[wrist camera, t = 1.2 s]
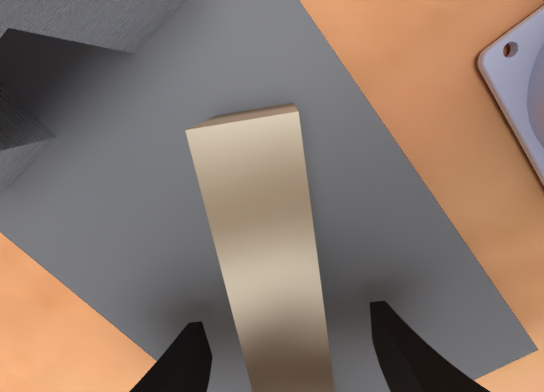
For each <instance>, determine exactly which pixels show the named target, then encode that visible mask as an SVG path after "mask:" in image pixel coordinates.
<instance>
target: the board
mask: <svg viewBox="0 0 544 392" xmlns="http://www.w3.org/2000/svg"><path fill="white" fill-rule="evenodd" d="M0 83H1V84H2V85H3V86H4V87H5V88H6V89H7V90H8V91H9V92H10V93H11V94H12V95H13V96H14V97H15V98H16V99H18V100H19V101H20V102H21V103H22V104H23V105H24V106H25V107H26V108H27V109H28V110H29V111H30V112H31V113H32V114H33V115H34V116H35V117H36V118H37V119H38V120H39V121H40V122H41V123H42V124H43V125H44V126H45V127H47V128H48V129H49V130H50V131H51V132H52V133H53V134H54V135H55V136H56V137H57V138H56V139H55V140H54V141H53V142H52V143H51V144H50V145H49V146H48V147H47V148H46V149H45V150H44V151H43V152H42V153H41V154H40V155H39V157H38V158H37V159H36V160H35V161H34V162H33V163H32V164H31V165H30V166H29V167H28V168H27V169H26V170H25V171H24V172H23V173H22V174H21V175H20V177H19V178H18V179H17V180H16V181H15V182H14V183H13V184H12V185H11V186H10V187H9V188H8V189H7V190H6V191H3V192H0V232H1V233H2V234H3V235H4V236H6V237H7V238H8V239H9V240H11V241H12V242H13V243H14V244H15V245H17V246H18V247H19V248H20V249H21V250H23V251H24V252H25V253H26V254H28V255H29V256H30V257H31V258H32V259H34V260H35V261H36V262H37V263H38V264H40V265H41V266H42V267H43V268H45V269H46V270H47V271H48V272H49V273H51V274H52V275H53V276H54V277H55V278H57V279H58V280H59V281H60V282H62V283H63V284H64V285H65V286H66V287H68V288H69V289H70V290H71V291H72V292H74V293H75V294H76V295H77V296H79V297H80V298H81V299H82V300H83V301H85V302H86V303H87V304H88V305H89V306H91V307H92V308H93V309H94V310H96V311H97V312H98V313H99V314H100V315H102V316H103V317H104V318H105V319H106V320H108V321H109V322H110V323H111V324H113V325H114V326H115V327H116V328H117V329H119V330H120V331H121V332H122V333H123V334H125V335H126V336H127V337H128V338H130V339H131V340H132V341H133V342H134V343H136V344H137V345H138V346H139V347H140V348H142V349H143V350H144V351H145V352H147V353H148V354H149V355H150V356H151V357H153V358H154V359H155V360H156V361H158V360H159V358H160V357H161V356H162V355H163V354H164V352H165V351H166V350H167V349H168V348H169V346H170V345H171V344H172V343H173V341H174V340H175V339H176V338H177V336H178V335H179V334H180V333H181V331H182V330H183V329H184V328H185V326H186V325H187V324H188V323H190V322H199V321H202V323H203V326H204V329H205V333H206V336H207V339H208V343H209V346H210V349H211V353H212V356H213V358H212V366H211V373H210V379H209V384H208V388H207V392H252V388H251V384H250V380H249V376H248V372H247V368H246V364H245V360H244V357H243V353H242V349H241V345H240V341H239V337H238V333H237V329H236V326H235V322H234V318H233V314H232V310H231V306H230V302H229V298H228V294H227V291H226V287H225V283H224V279H223V275H222V271H221V267H220V263H219V260H218V256H217V252H216V248H215V244H214V240H213V236H212V232H211V228H210V225H209V221H208V217H207V213H206V209H205V205H204V201H203V197H202V194H201V190H200V186H199V182H198V178H197V174H196V170H195V166H194V162H193V159H192V155H191V151H190V147H189V143H188V139H187V135H186V131H185V130H187V129H189V128H191V127H193V126H195V125H197V124H199V123H201V122H204V121H206V120H208V119H210V118H212V117H214V116H216V115H222V114H228V113H234V112H240V111H246V110H252V109H258V108H264V107H270V106H275V105H281V104H287V103H294V104H295V106H296V108H297V110H298V111H299V119H300V126H301V134H302V142H303V149H304V157H305V165H306V173H307V180H308V188H309V196H310V203H311V211H312V219H313V227H314V234H315V242H316V250H317V257H318V265H319V273H320V280H321V288H322V296H323V304H324V311H325V319H326V327H327V334H328V342H329V350H330V357H331V365H332V373H333V381H334V388H335V392H390V390H389V387H388V385H387V382H386V380H385V378H384V375H383V373H382V370H381V368H380V365H379V362H378V359H377V355H376V352H375V349H374V345H373V342H372V331H371V316H370V302H376V301H386V302H387V303H388V304H389V305H390V306H391V307H392V309H393V310H394V311H395V312H396V313H397V314H398V315H399V316H400V317H401V318H402V319H403V320H404V321H405V322H406V323H407V324H408V325H409V326H410V327H411V328H412V329H413V330H414V331H415V332H416V333H417V334H418V335H419V336H420V337H421V338H422V339H423V340H424V341H425V342H426V343H427V344H429V345H430V346H431V347H432V348H433V349H434V350H435V351H437V352H438V353H439V354H440V355H441V356H442V357H444V358H445V359H446V360H447V361H448V362H450V363H451V364H452V365H453V366H455V367H456V368H457V369H459V370H460V371H461V372H463V373H464V374H465V375H467V376H468V377H469V378H471V379H472V380H475V379H477V378H479V377H481V376H484V375H486V374H488V373H490V372H492V371H494V370H496V369H498V368H501V367H503V366H505V365H507V364H509V363H511V362H513V361H515V360H518V359H520V358H522V357H524V356H526V355H528V354H530V353H532V352H535V351H537V350H538V348H537V347H536V345H535V344H534V342H533V341H532V340H531V338H530V337H529V335H528V334H527V332H526V331H525V329H524V328H523V326H522V325H521V323H520V322H519V321H518V319H517V318H516V316H515V315H514V313H513V312H512V310H511V309H510V307H509V306H508V304H507V303H506V302H505V300H504V299H503V297H502V296H501V294H500V293H499V291H498V290H497V288H496V287H495V286H494V284H493V283H492V281H491V280H490V278H489V277H488V275H487V274H486V272H485V271H484V269H483V268H482V267H481V265H480V264H479V262H478V261H477V259H476V258H475V256H474V255H473V253H472V252H471V250H470V249H469V248H468V246H467V245H466V243H465V242H464V240H463V239H462V237H461V236H460V234H459V233H458V231H457V230H456V229H455V227H454V226H453V224H452V223H451V221H450V220H449V218H448V217H447V215H446V214H445V212H444V211H443V210H442V208H441V207H440V205H439V204H438V202H437V201H436V199H435V198H434V196H433V195H432V193H431V192H430V191H429V189H428V188H427V186H426V185H425V183H424V182H423V180H422V179H421V177H420V176H419V175H418V173H417V172H416V170H415V169H414V167H413V166H412V164H411V163H410V161H409V160H408V158H407V157H406V156H405V154H404V153H403V151H402V150H401V148H400V147H399V145H398V144H397V142H396V141H395V139H394V138H393V137H392V135H391V134H390V132H389V131H388V129H387V128H386V126H385V125H384V123H383V122H382V120H381V119H380V118H379V116H378V115H377V113H376V112H375V110H374V109H373V107H372V106H371V104H370V103H369V101H368V100H367V99H366V97H365V96H364V94H363V93H362V91H361V90H360V88H359V87H358V85H357V84H356V82H355V81H354V80H353V78H352V77H351V75H350V74H349V72H348V71H347V69H346V68H345V66H344V65H343V64H342V62H341V61H340V59H339V58H338V56H337V55H336V53H335V52H334V50H333V49H332V47H331V46H330V45H329V43H328V42H327V40H326V39H325V37H324V36H323V34H322V33H321V31H320V30H319V28H318V27H317V26H316V24H315V23H314V21H313V20H312V18H311V17H310V15H309V14H308V12H307V11H306V9H305V8H304V7H303V5H302V4H301V2H300V1H299V0H187V1H186V2H185V3H184V4H183V5H182V6H181V7H180V8H179V9H178V10H177V11H176V12H175V14H174V15H173V16H172V17H171V18H170V19H169V20H168V21H167V22H166V23H165V24H164V25H163V26H162V27H161V28H160V29H159V30H158V31H157V32H156V33H155V35H154V36H153V37H152V38H151V39H150V40H149V41H148V42H147V43H146V44H145V45H144V46H143V47H142V48H141V49H140V50H139V51H138V52H137V53H136V54H133V53H128V52H123V51H119V50H114V49H109V48H104V47H99V46H94V45H89V44H85V43H80V42H75V41H70V40H65V39H60V38H56V37H51V36H46V35H41V34H36V33H31V32H26V31H22V30H17V29H12V28H9V29H8V31H7V32H6V33H5V35H4V36H3V37H2V38H1V40H0Z"/></svg>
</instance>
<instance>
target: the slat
mask: <svg viewBox="0 0 544 392" xmlns="http://www.w3.org/2000/svg"><path fill="white" fill-rule="evenodd" d="M185 131H186V135H187V139H188V143H189V147H190V151H191V155H192V159H193V162H194V166H195V170H196V174H197V178H198V182H199V186H200V190H201V194H202V197H203V201H204V205H205V209H206V213H207V217H208V221H209V225H210V228H211V232H212V236H213V240H214V244H215V248H216V252H217V256H218V260H219V263H220V267H221V271H222V275H223V279H224V283H225V287H226V291H227V294H228V298H229V302H230V306H231V310H232V314H233V318H234V322H235V326H236V329H237V333H238V337H239V341H240V345H241V349H242V353H243V357H244V360H245V364H246V368H247V372H248V376H249V380H250V384H251V388H252V392H335V388H334V381H333V373H332V365H331V357H330V350H329V342H328V334H327V327H326V319H325V311H324V304H323V296H322V288H321V280H320V273H319V265H318V257H317V250H316V242H315V234H314V227H313V219H312V211H311V203H310V196H309V188H308V180H307V173H306V165H305V157H304V149H303V142H302V134H301V126H300V119H299V111H298V110H297V108H296V106H295V104H294V103H287V104H281V105H275V106H270V107H264V108H258V109H252V110H246V111H240V112H234V113H228V114H222V115H216V116H214V117H212V118H210V119H208V120H206V121H204V122H201V123H199V124H197V125H195V126H193V127H191V128H189V129H187V130H185Z"/></svg>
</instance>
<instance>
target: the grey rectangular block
mask: <svg viewBox="0 0 544 392" xmlns="http://www.w3.org/2000/svg"><path fill="white" fill-rule="evenodd" d="M186 1H187V0H0V40H1V38H2V37H3V36H4V35H5V33H6V32H7V31H8V29H9V28H12V29H17V30H22V31H26V32H31V33H36V34H41V35H46V36H51V37H56V38H60V39H65V40H70V41H75V42H80V43H85V44H89V45H94V46H99V47H104V48H109V49H114V50H119V51H123V52H128V53H133V54H136V53H137V52H138V51H139V50H140V49H141V48H142V47H143V46H144V45H145V44H146V43H147V42H148V41H149V40H150V39H151V38H152V37H153V36H154V35H155V33H156V32H157V31H158V30H159V29H160V28H161V27H162V26H163V25H164V24H165V23H166V22H167V21H168V20H169V19H170V18H171V17H172V16H173V15H174V14H175V12H176V11H177V10H178V9H179V8H180V7H181V6H182V5H183V4H184V3H185V2H186ZM56 138H57V137H56V136H55V135H54V134H53V133H52V132H51V131H50V130H49V129H48V128H47V127H45V126H44V125H43V124H42V123H41V122H40V121H39V120H38V119H37V118H36V117H35V116H34V115H33V114H32V113H31V112H30V111H29V110H28V109H27V108H26V107H25V106H24V105H23V104H22V103H21V102H20V101H19V100H18V99H16V98H15V97H14V96H13V95H12V94H11V93H10V92H9V91H8V90H7V89H6V88H5V87H4V86H3V85H2V84H1V83H0V192H3V191H6V190H7V189H8V188H9V187H10V186H11V185H12V184H13V183H14V182H15V181H16V180H17V179H18V178H19V177H20V175H21V174H22V173H23V172H24V171H25V170H26V169H27V168H28V167H29V166H30V165H31V164H32V163H33V162H34V161H35V160H36V159H37V158H38V157H39V155H40V154H41V153H42V152H43V151H44V150H45V149H46V148H47V147H48V146H49V145H50V144H51V143H52V142H53V141H54V140H55V139H56Z"/></svg>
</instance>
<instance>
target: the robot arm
mask: <svg viewBox="0 0 544 392" xmlns="http://www.w3.org/2000/svg"><path fill="white" fill-rule="evenodd" d="M507 43H508V44H509V45H510V49H511V50H510V53H509V54H508V56H507V57H505V56H504V55H503V49H504V46H505V45H506V44H507ZM477 65H478V68H479V70H480V72H481V74H482V76H483V78H484V79H485V81H486V83H487V85H488V87H489V88H490V90H491V92H492V94H493V96H494V97H495V99H496V101H497V103H498V105H499V106H500V108H501V110H502V112H503V114H504V115H505V117H506V119H507V121H508V123H509V124H510V126H511V128H512V130H513V132H514V133H515V135H516V137H517V139H518V141H519V142H520V144H521V146H522V148H523V150H524V151H525V153H526V155H527V157H528V159H529V160H530V162H531V164H532V166H533V168H534V169H535V171H536V173H537V175H538V177H539V178H540V180H541V182H542V184H543V186H544V5H543V6H542V7H540V8H539V9H538V10H536V11H535V12H534V13H532V14H531V15H530V16H528V17H527V18H526V19H524V20H523V21H522V22H520V23H519V24H518V25H516V26H515V27H513V28H512V29H511V30H509V31H508V32H507V33H505V34H504V35H503V36H501V37H500V38H499V39H497V40H496V41H495V42H493V43H492V44H491V45H489V46H488V47H487V48H485V49H484V50H483V51H482V52H481V54H480V56H479V58H478V63H477ZM370 316H371V331H372V342H373V345H374V349H375V352H376V355H377V359H378V362H379V365H380V368H381V370H382V373H383V375H384V378H385V380H386V382H387V385H388V387H389V390H390V392H490V391H488V390H487V389H485V388H484V387H482V386H481V385H479V384H478V383H476V382H475V381H474V380H472V379H471V378H469V377H468V376H467V375H465V374H464V373H463V372H461V371H460V370H459V369H457V368H456V367H455V366H453V365H452V364H451V363H450V362H448V361H447V360H446V359H445V358H444V357H442V356H441V355H440V354H439V353H438V352H437V351H435V350H434V349H433V348H432V347H431V346H430V345H429V344H427V343H426V342H425V341H424V340H423V339H422V338H421V337H420V336H419V335H418V334H417V333H416V332H415V331H414V330H413V329H412V328H411V327H410V326H409V325H408V324H407V323H406V322H405V321H404V320H403V319H402V318H401V317H400V316H399V315H398V314H397V313H396V312H395V311H394V310H393V309H392V307H391V306H390V305H389V304H388V303H387V302H386V301H376V302H370ZM212 358H213V356H212V353H211V349H210V346H209V343H208V339H207V336H206V333H205V329H204V326H203V323H202V321H199V322H190V323H188V324H187V325H186V326H185V328H184V329H183V330H182V331H181V333H180V334H179V335H178V336H177V338H176V339H175V340H174V341H173V343H172V344H171V345H170V346H169V348H168V349H167V350H166V351H165V352H164V354H163V355H162V356H161V357H160V358H159V360H158V361H157V362H156V363H155V364H154V365H153V367H152V368H151V369H150V370H149V371H148V372H147V373H146V374H145V376H144V377H143V378H142V379H141V380H140V381H139V382H138V383H137V384H136V385H135V386H134V387H133V389H132V390H131V391H130V392H207V388H208V384H209V379H210V373H211V366H212Z"/></svg>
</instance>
